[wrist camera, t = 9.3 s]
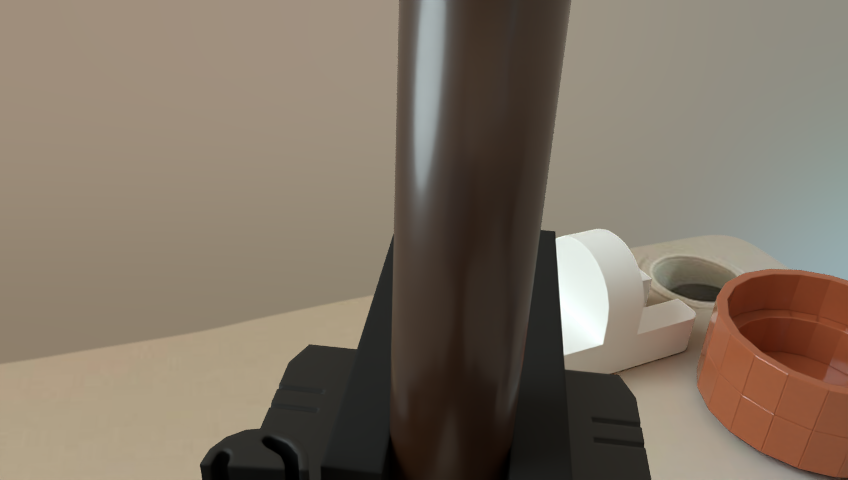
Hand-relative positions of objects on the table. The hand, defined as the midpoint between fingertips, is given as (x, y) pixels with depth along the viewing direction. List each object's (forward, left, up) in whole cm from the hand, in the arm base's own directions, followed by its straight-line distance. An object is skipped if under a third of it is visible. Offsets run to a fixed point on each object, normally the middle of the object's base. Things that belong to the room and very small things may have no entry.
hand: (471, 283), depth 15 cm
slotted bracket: (-2, -29, -22) cm, 36 cm away
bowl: (-15, -27, -22) cm, 38 cm away
